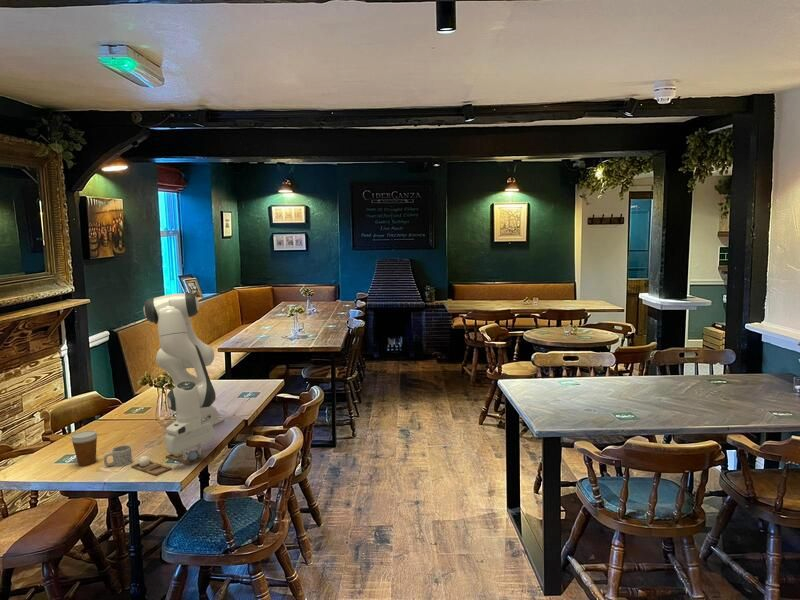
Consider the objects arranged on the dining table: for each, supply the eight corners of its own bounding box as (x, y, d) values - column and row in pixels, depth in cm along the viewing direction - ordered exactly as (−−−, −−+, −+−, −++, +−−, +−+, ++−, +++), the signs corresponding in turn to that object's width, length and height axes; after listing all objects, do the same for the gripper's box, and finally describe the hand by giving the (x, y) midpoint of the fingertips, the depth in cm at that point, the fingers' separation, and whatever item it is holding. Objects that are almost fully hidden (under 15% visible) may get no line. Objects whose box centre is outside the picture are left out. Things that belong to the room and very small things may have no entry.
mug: (130, 459, 240) (128, 444, 239) (134, 464, 234) (132, 448, 233) (103, 466, 234) (101, 450, 233) (106, 471, 228) (104, 455, 228)
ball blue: (193, 458, 237) (192, 448, 237) (199, 460, 235) (199, 450, 235) (185, 461, 234) (184, 451, 234) (191, 463, 232) (190, 453, 231)
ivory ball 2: (179, 453, 242) (178, 444, 242) (185, 455, 240) (185, 446, 240) (171, 457, 239) (170, 447, 239) (177, 459, 237) (176, 449, 236)
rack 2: (165, 459, 239) (165, 456, 239) (180, 453, 245) (180, 450, 244) (190, 467, 230) (190, 463, 230) (205, 460, 236) (205, 457, 235)
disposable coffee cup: (70, 463, 238) (67, 434, 236) (95, 456, 244) (92, 428, 243) (77, 469, 231) (74, 440, 230) (103, 462, 238) (100, 433, 236)
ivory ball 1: (146, 463, 233) (145, 453, 233) (152, 465, 231) (151, 455, 231) (137, 467, 230) (136, 457, 230) (143, 469, 228) (142, 459, 227)
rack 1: (131, 469, 230) (131, 465, 230) (147, 462, 236) (147, 459, 235) (155, 477, 221) (155, 474, 221) (172, 471, 227) (172, 467, 226)
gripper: (206, 414, 243) (208, 447, 245) (161, 429, 226) (164, 464, 228) (216, 417, 239) (218, 450, 241) (171, 432, 223) (174, 467, 224)
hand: (192, 457), depth 234 cm, fingers closed on ball blue, 4 cm apart
